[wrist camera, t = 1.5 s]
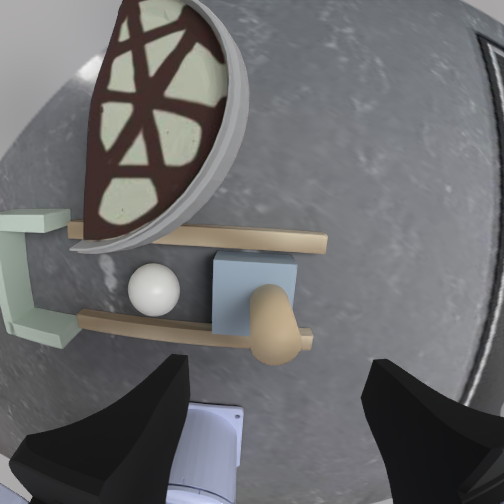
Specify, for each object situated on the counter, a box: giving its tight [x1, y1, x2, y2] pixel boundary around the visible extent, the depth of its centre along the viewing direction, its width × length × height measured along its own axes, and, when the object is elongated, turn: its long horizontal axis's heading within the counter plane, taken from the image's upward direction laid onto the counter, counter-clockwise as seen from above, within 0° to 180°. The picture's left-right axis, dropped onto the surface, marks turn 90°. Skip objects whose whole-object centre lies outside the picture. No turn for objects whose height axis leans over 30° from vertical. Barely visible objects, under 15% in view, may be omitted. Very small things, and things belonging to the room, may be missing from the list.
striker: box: [212, 251, 302, 365], centre depth 17 cm, size 5×5×8 cm
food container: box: [69, 0, 249, 254], centre depth 13 cm, size 12×6×10 cm, turn 173°
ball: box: [128, 263, 180, 316], centre depth 19 cm, size 4×4×4 cm
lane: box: [67, 219, 328, 350], centre depth 20 cm, size 8×18×1 cm, turn 86°
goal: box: [0, 209, 82, 349], centre depth 18 cm, size 10×7×4 cm, turn 176°
